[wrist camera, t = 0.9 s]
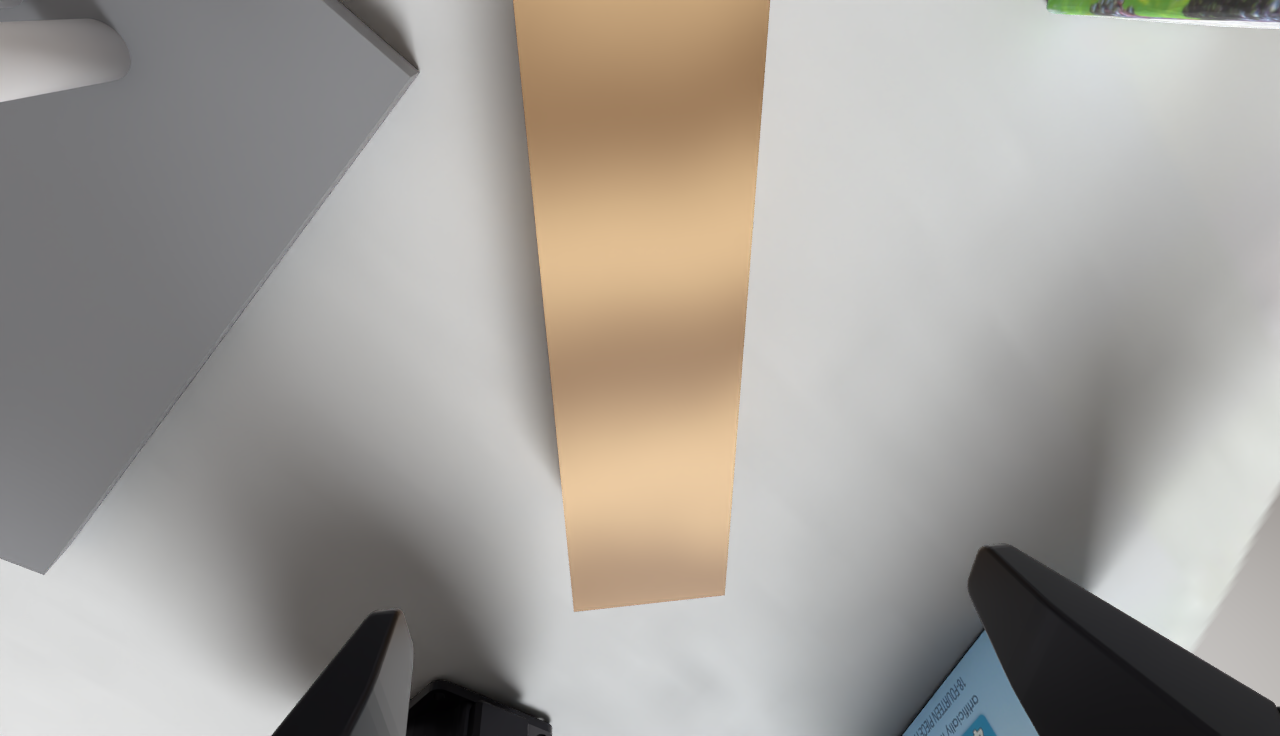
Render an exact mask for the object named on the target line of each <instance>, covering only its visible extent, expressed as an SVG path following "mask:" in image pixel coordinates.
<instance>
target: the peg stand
mask: <svg viewBox="0 0 1280 736" xmlns="http://www.w3.org/2000/svg"><path fill="white" fill-rule="evenodd" d="M418 74H419V71H418V70H417V69H416V68H415V67H414V66H412V65H411V64H410V63H409V62H408V61H407V60H406V59H404V58H403V57H402V56H401V55H400V54H399V53H398V52H396V51H395V50H394V49H393V48H392V47H391V46H390V45H388V44H387V43H386V42H385V41H384V40H383V39H382V38H380V37H379V36H378V35H377V34H376V33H375V32H374V31H372V30H371V29H370V28H369V27H368V26H367V25H366V24H365V23H363V22H362V21H361V20H360V19H359V18H358V17H357V16H355V15H354V14H353V13H352V12H351V11H350V10H349V9H347V8H346V7H345V6H344V5H343V4H342V3H341V2H339V1H338V0H0V558H1V559H3V560H6V561H9V562H11V563H14V564H16V565H19V566H22V567H24V568H27V569H30V570H32V571H35V572H38V573H40V574H43V575H44V574H45V573H46V572H47V571H48V570H49V569H50V568H51V566H52V565H53V564H54V563H55V562H56V561H57V560H58V559H59V557H60V556H61V555H62V554H63V553H64V552H65V551H66V549H67V548H68V547H69V546H70V544H71V543H72V542H73V540H74V539H75V538H76V536H77V535H78V534H79V532H80V531H81V530H82V528H83V527H84V526H85V524H86V523H87V521H88V520H89V519H90V517H91V516H92V515H93V513H94V512H95V511H96V509H97V508H98V507H99V505H100V504H101V503H102V501H103V500H104V498H105V497H106V496H107V494H108V493H109V492H110V490H111V489H112V488H113V486H114V485H115V484H116V482H117V481H118V480H119V478H120V477H121V475H122V474H123V473H124V471H125V470H126V469H127V467H128V466H129V465H130V463H131V462H132V461H133V459H134V458H135V457H136V455H137V454H138V452H139V451H140V450H141V448H142V447H143V446H144V444H145V443H146V442H147V440H148V439H149V438H150V436H151V435H152V434H153V432H154V431H155V429H156V428H157V427H158V425H159V424H160V423H161V421H162V420H163V419H164V417H165V416H166V415H167V413H168V412H169V411H170V409H171V408H172V406H173V405H174V404H175V402H176V401H177V400H178V398H179V397H180V396H181V394H182V393H183V392H184V390H185V389H186V388H187V386H188V385H189V383H190V382H191V381H192V379H193V378H194V377H195V375H196V374H197V373H198V371H199V370H200V369H201V367H202V366H203V365H204V363H205V362H206V360H207V359H208V358H209V356H210V355H211V354H212V352H213V351H214V350H215V348H216V347H217V346H218V344H219V343H220V342H221V340H222V339H223V338H224V336H225V335H226V333H227V332H228V331H229V329H230V328H231V327H232V325H233V324H234V323H235V321H236V320H237V319H238V317H239V316H240V315H241V313H242V312H243V310H244V309H245V308H246V306H247V305H248V304H249V302H250V301H251V300H252V298H253V297H254V296H255V294H256V293H257V292H258V290H259V289H260V287H261V286H262V285H263V283H264V282H265V281H266V279H267V278H268V277H269V275H270V274H271V273H272V271H273V270H274V269H275V267H276V266H277V264H278V263H279V262H280V260H281V259H282V258H283V256H284V255H285V254H286V252H287V251H288V250H289V248H290V247H291V246H292V244H293V243H294V241H295V240H296V239H297V237H298V236H299V235H300V233H301V232H302V231H303V229H304V228H305V227H306V225H307V224H308V223H309V221H310V220H311V218H312V217H313V216H314V214H315V213H316V212H317V210H318V209H319V208H320V206H321V205H322V204H323V202H324V201H325V200H326V198H327V197H328V195H329V194H330V193H331V191H332V190H333V189H334V187H335V186H336V185H337V183H338V182H339V181H340V179H341V178H342V177H343V175H344V174H345V173H346V171H347V170H348V168H349V167H350V166H351V164H352V163H353V162H354V160H355V159H356V158H357V156H358V155H359V154H360V152H361V151H362V150H363V148H364V147H365V145H366V144H367V143H368V141H369V140H370V139H371V137H372V136H373V135H374V133H375V132H376V131H377V129H378V128H379V127H380V125H381V124H382V122H383V121H384V120H385V118H386V117H387V116H388V114H389V113H390V112H391V110H392V109H393V108H394V106H395V105H396V104H397V102H398V101H399V99H400V98H401V97H402V95H403V94H404V93H405V91H406V90H407V89H408V87H409V86H410V85H411V83H412V82H413V81H414V79H415V78H416V76H417V75H418Z"/></svg>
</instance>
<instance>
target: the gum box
mask: <svg viewBox="0 0 1280 736" xmlns="http://www.w3.org/2000/svg"><path fill="white" fill-rule="evenodd" d="M902 736H1039V735H1038V733H1037V731H1036V730H1035V728H1034V726H1033V724H1032V723H1031V721H1030V719H1029V717H1028V716H1027V714H1026V712H1025V710H1024V709H1023V707H1022V705H1021V703H1020V702H1019V700H1018V698H1017V696H1016V694H1015V692H1014V691H1013V689H1012V687H1011V685H1010V683H1009V681H1008V679H1007V677H1006V675H1005V673H1004V670H1003V668H1002V666H1001V664H1000V662H999V659H998V657H997V655H996V653H995V651H994V648H993V646H992V644H991V642H990V640H989V637H988V635H987V633H986V631H985V630H984V631H983V632H982V634H981V635H980V636H979V638H978V639H977V640H976V641H975V643H974V644H973V645H972V647H971V648H970V649H969V650H968V652H967V653H966V654H965V656H964V657H963V658H962V659H961V661H960V662H959V663H958V665H957V666H956V667H955V668H954V670H953V671H952V672H951V674H950V675H949V676H948V677H947V679H946V680H945V681H944V682H943V684H942V685H941V686H940V688H939V689H938V690H937V691H936V693H935V694H934V695H933V697H932V698H931V699H930V700H929V702H928V703H927V704H926V706H925V707H924V708H923V710H922V711H921V712H920V713H919V715H918V716H917V717H916V718H915V720H914V721H913V722H912V723H911V725H910V726H909V727H908V729H907V730H906V731H905V733H904V734H903V735H902Z"/></svg>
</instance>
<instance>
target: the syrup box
mask: <svg viewBox="0 0 1280 736" xmlns="http://www.w3.org/2000/svg"><path fill="white" fill-rule="evenodd" d="M1047 10H1048V12H1051V13H1056V14H1069V15H1079V16H1092V17H1105V18H1117V19H1129V20H1141V21H1153V22H1166V23H1179V24H1193V25H1207V26H1221V27H1243V28H1267V29H1280V0H1048V2H1047Z"/></svg>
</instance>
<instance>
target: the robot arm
mask: <svg viewBox="0 0 1280 736" xmlns="http://www.w3.org/2000/svg"><path fill="white" fill-rule="evenodd" d="M968 592H969V595H970V598H971V600H972V602H973V604H974V607H975V609H976V611H977V613H978V615H979V618H980V620H981V622H982V624H983V626H984V629H985V631H986V633H987V635H988V637H989V640H990V642H991V644H992V646H993V648H994V651H995V653H996V655H997V657H998V659H999V662H1000V664H1001V666H1002V668H1003V670H1004V673H1005V675H1006V677H1007V679H1008V681H1009V683H1010V685H1011V687H1012V689H1013V691H1014V692H1015V694H1016V696H1017V698H1018V700H1019V702H1020V703H1021V705H1022V707H1023V709H1024V710H1025V712H1026V714H1027V716H1028V717H1029V719H1030V721H1031V723H1032V724H1033V726H1034V728H1035V730H1036V731H1037V733H1038V735H1039V736H1280V707H1276V705H1275V704H1274V703H1273V702H1272V701H1271V700H1269V699H1267V698H1266V697H1264V696H1262V695H1261V694H1259V693H1257V692H1256V691H1254V690H1252V689H1251V688H1249V687H1247V686H1246V685H1244V684H1242V683H1240V682H1239V681H1237V680H1235V679H1234V678H1232V677H1231V676H1229V675H1227V674H1225V673H1224V672H1222V671H1220V670H1219V669H1217V668H1215V667H1214V666H1212V665H1210V664H1209V663H1207V662H1205V661H1204V660H1202V659H1200V658H1199V657H1197V656H1195V655H1194V654H1192V653H1190V652H1189V651H1187V650H1185V649H1184V648H1182V647H1180V646H1179V645H1177V644H1175V643H1174V642H1172V641H1170V640H1169V639H1167V638H1165V637H1164V636H1162V635H1160V634H1159V633H1157V632H1155V631H1154V630H1152V629H1150V628H1149V627H1147V626H1145V625H1144V624H1142V623H1140V622H1139V621H1137V620H1135V619H1134V618H1132V617H1130V616H1129V615H1127V614H1125V613H1124V612H1122V611H1120V610H1119V609H1117V608H1115V607H1114V606H1112V605H1110V604H1109V603H1107V602H1105V601H1104V600H1102V599H1100V598H1099V597H1097V596H1095V595H1094V594H1092V593H1090V592H1089V591H1087V590H1085V589H1084V588H1082V587H1080V586H1079V585H1077V584H1075V583H1074V582H1072V581H1070V580H1069V579H1067V578H1065V577H1064V576H1062V575H1060V574H1059V573H1057V572H1055V571H1054V570H1052V569H1050V568H1049V567H1047V566H1045V565H1044V564H1042V563H1040V562H1039V561H1037V560H1035V559H1034V558H1032V557H1030V556H1029V555H1027V554H1025V553H1023V552H1022V551H1020V550H1018V549H1017V548H1015V547H1013V546H1011V545H1009V544H1004V543H1001V544H992V545H984V546H982V547H981V548H980V549H979V550H978V552H977V555H976V558H975V561H974V563H973V566H972V569H971V572H970V575H969V578H968ZM413 661H414V648H413V642H412V639H411V636H410V632H409V629H408V625H407V622H406V619H405V615H404V613H403V611H402V610H401V609H399V608H393V609H384V610H376V611H373V612H372V613H370V614H369V615H368V616H367V618H366V619H365V620H364V621H363V623H362V624H361V625H360V626H359V627H358V629H357V630H356V631H355V632H354V634H353V635H352V636H351V637H350V639H349V640H348V641H347V642H346V644H345V645H344V646H343V647H342V649H341V650H340V651H339V652H338V654H337V655H336V656H335V657H334V659H333V660H332V661H331V662H330V663H329V665H328V666H327V667H326V668H325V670H324V671H323V672H322V673H321V675H320V676H319V677H318V678H317V680H316V681H315V682H314V683H313V685H312V686H311V687H310V688H309V690H308V691H307V692H306V693H305V695H304V696H303V697H302V698H301V700H300V701H299V702H298V703H297V704H296V706H295V707H294V708H293V709H292V711H291V712H290V713H289V714H288V716H287V717H286V718H285V719H284V721H283V722H282V723H281V724H280V726H279V727H278V728H277V729H276V731H275V732H274V733H273V734H272V736H552V726H551V725H550V724H549V723H547V722H544V721H542V720H539V719H537V718H534V717H532V716H530V715H527V714H525V713H522V712H520V711H518V710H515V709H513V708H510V707H508V706H506V705H503V704H501V703H498V702H496V701H493V700H491V699H489V698H486V697H484V696H481V695H479V694H477V693H474V692H472V691H469V690H467V689H465V688H462V687H460V686H457V685H455V684H452V683H450V682H448V681H444V680H437V681H433V682H432V683H430V684H429V685H428V686H427V687H425V688H424V689H423V690H422V691H421V692H420V693H419V694H417V695H416V696H415V697H414V698H413V699H412V700H411V701H409V699H410V690H411V680H412V671H413Z"/></svg>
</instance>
